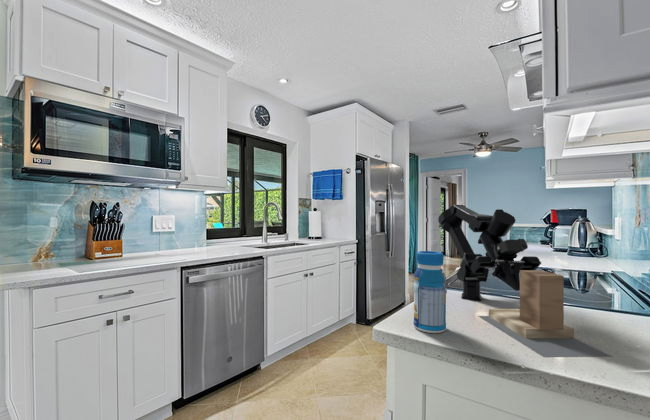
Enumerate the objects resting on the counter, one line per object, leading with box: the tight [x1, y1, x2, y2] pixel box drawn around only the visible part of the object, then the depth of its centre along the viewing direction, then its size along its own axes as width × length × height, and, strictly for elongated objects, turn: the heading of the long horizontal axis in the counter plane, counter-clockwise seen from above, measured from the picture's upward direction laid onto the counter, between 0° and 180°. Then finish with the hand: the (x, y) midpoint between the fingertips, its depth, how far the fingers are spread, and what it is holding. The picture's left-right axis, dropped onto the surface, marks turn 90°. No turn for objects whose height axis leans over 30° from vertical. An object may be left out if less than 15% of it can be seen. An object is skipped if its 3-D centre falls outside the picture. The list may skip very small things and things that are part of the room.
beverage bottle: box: [412, 250, 448, 334], centre depth 80 cm, size 8×8×20 cm
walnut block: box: [519, 269, 565, 330], centre depth 77 cm, size 7×6×13 cm
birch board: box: [488, 308, 575, 338], centre depth 81 cm, size 16×12×2 cm
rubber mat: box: [477, 315, 613, 358], centre depth 77 cm, size 26×15×1 cm, turn 2°
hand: (518, 290), depth 85 cm, fingers closed
